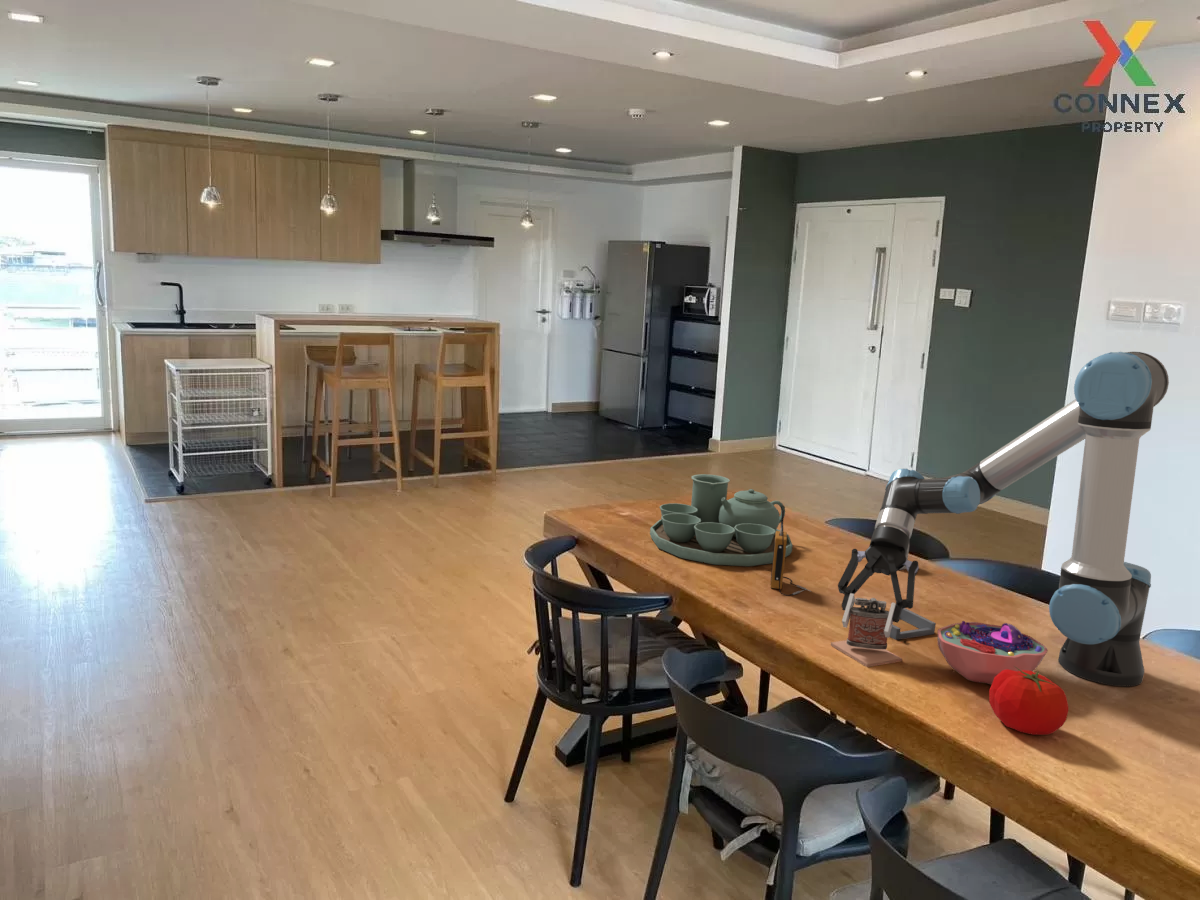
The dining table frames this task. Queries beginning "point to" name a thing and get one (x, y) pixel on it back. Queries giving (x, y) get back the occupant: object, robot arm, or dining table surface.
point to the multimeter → (780, 559)
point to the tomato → (1028, 702)
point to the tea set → (720, 525)
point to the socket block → (916, 620)
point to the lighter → (868, 624)
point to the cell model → (988, 649)
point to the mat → (866, 654)
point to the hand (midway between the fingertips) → (865, 629)
